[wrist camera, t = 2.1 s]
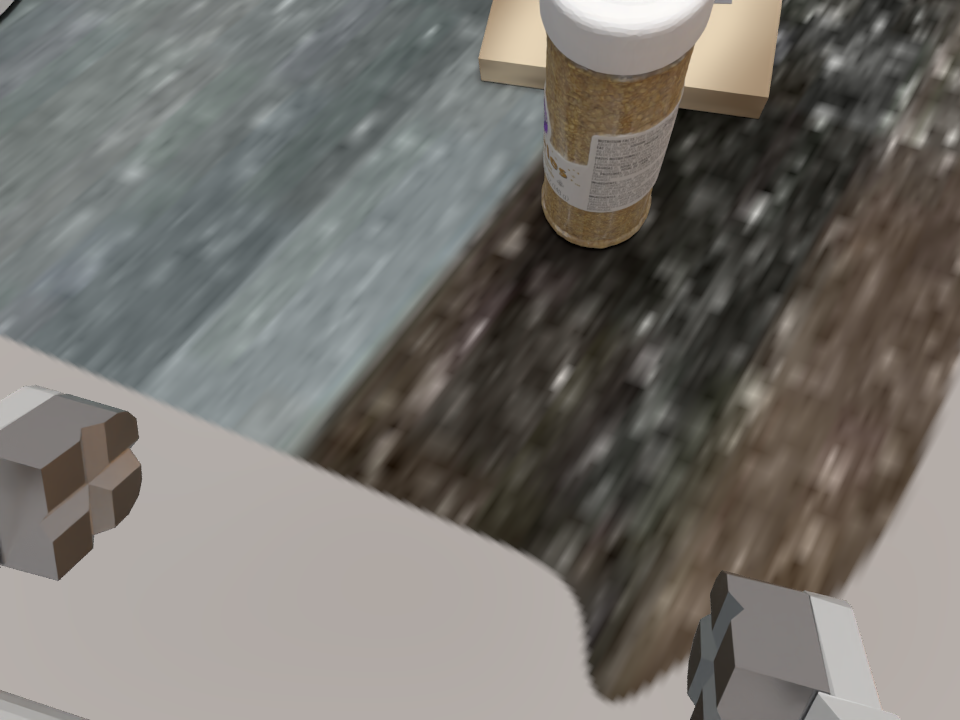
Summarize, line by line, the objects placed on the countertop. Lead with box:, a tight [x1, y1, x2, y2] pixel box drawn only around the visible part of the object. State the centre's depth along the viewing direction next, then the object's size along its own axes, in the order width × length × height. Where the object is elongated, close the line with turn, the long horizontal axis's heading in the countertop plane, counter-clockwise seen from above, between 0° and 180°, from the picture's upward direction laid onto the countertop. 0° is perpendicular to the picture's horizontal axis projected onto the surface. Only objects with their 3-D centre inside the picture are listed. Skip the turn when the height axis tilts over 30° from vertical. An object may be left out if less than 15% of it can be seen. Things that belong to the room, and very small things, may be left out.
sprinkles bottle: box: [539, 0, 715, 248], centre depth 25 cm, size 5×5×13 cm
